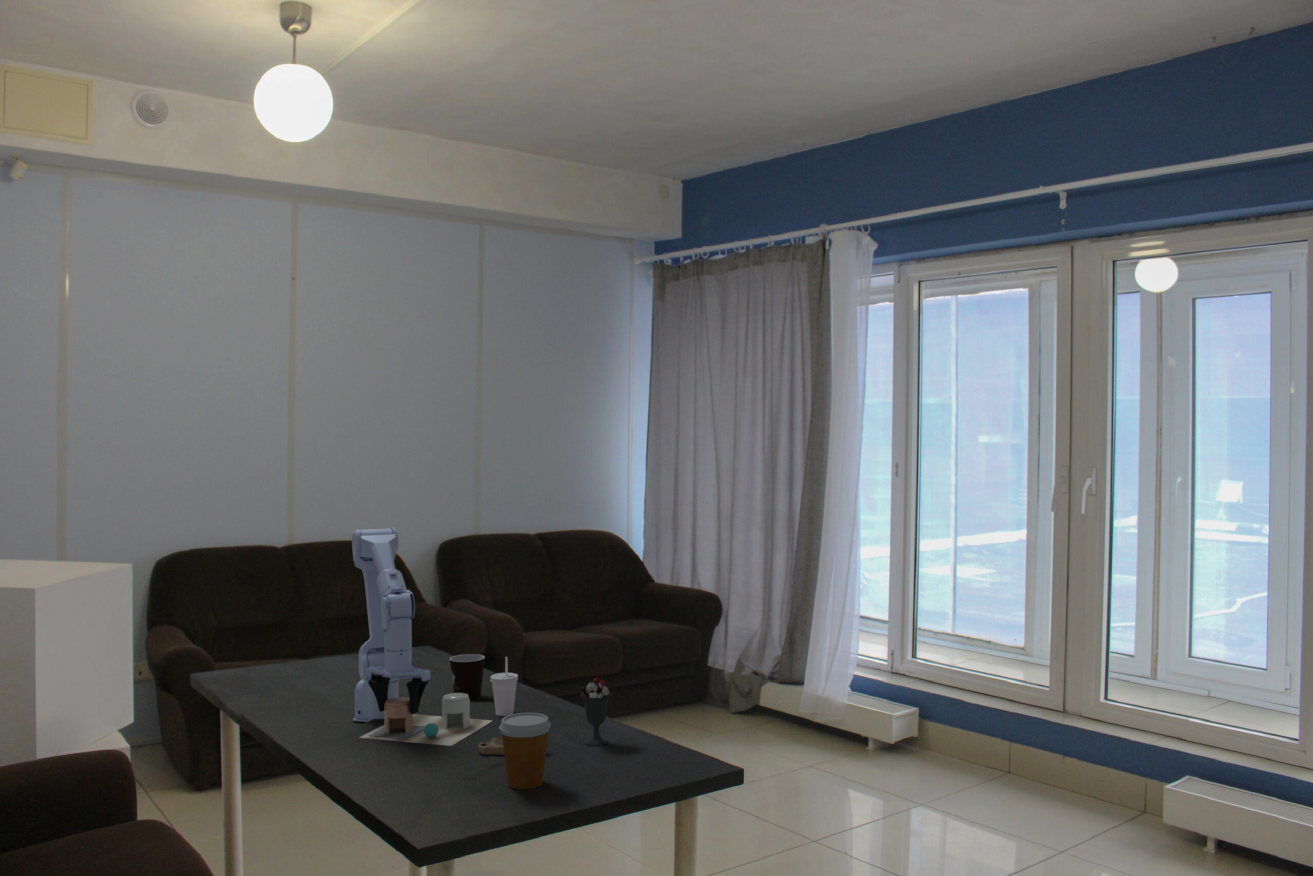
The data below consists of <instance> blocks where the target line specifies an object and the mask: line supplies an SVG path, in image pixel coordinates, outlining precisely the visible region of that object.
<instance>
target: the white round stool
mask: <svg viewBox="0 0 1313 876" xmlns="http://www.w3.org/2000/svg"><path fill="white" fill-rule="evenodd" d="M470 702H471V701H470V698H469V697H468V694H466V693H454V692H452V693H447V694H444V695H443V696H442V699H441V716H442V727H443V728H444V729H447V725H448V724H452V723H463V728H466V727H468V726H470V719H471V714H470V711H471V707H470V706H471V703H470Z"/></svg>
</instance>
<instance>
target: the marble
mask: <svg viewBox="0 0 1313 876" xmlns="http://www.w3.org/2000/svg"><path fill="white" fill-rule="evenodd" d="M437 733H438V727H437V725H436V724H434V723H429V724H427V725H426V726H425V728H424V734H425V735H426V736H427V737H429V738H433V737H435V736H436V735H437Z"/></svg>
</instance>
